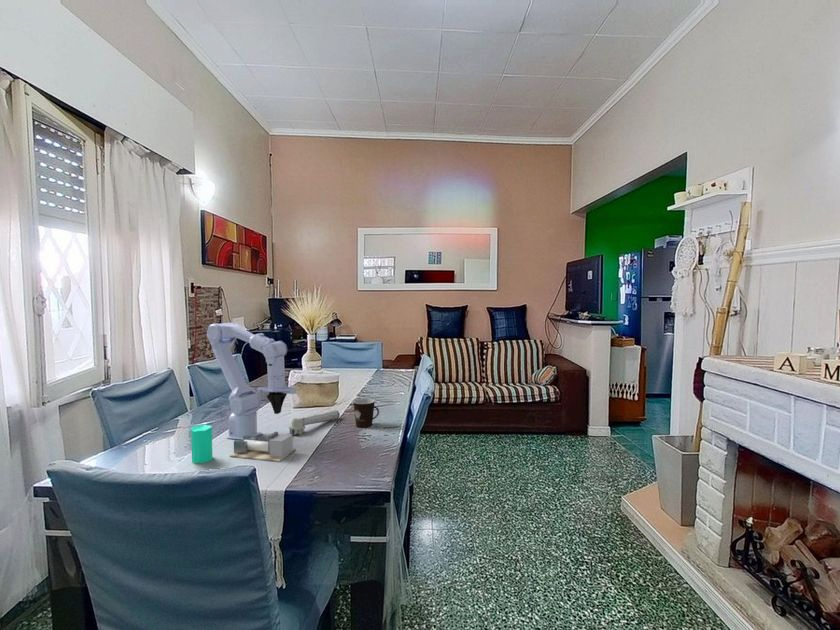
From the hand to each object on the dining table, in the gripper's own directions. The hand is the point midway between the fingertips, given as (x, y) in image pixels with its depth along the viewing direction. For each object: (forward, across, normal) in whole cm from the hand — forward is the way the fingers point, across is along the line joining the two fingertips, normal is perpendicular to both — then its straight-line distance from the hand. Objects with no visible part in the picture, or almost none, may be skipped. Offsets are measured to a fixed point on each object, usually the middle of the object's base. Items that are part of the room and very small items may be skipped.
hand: (277, 413), depth 146 cm
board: (+10, +1, -11) cm, 15 cm away
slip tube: (+10, +1, -11) cm, 15 cm away
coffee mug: (+11, +24, +23) cm, 35 cm away
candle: (+10, -15, -20) cm, 27 cm away
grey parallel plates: (+10, -6, -11) cm, 16 cm away
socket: (+11, +8, -11) cm, 17 cm away
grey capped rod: (+11, +4, +19) cm, 22 cm away
